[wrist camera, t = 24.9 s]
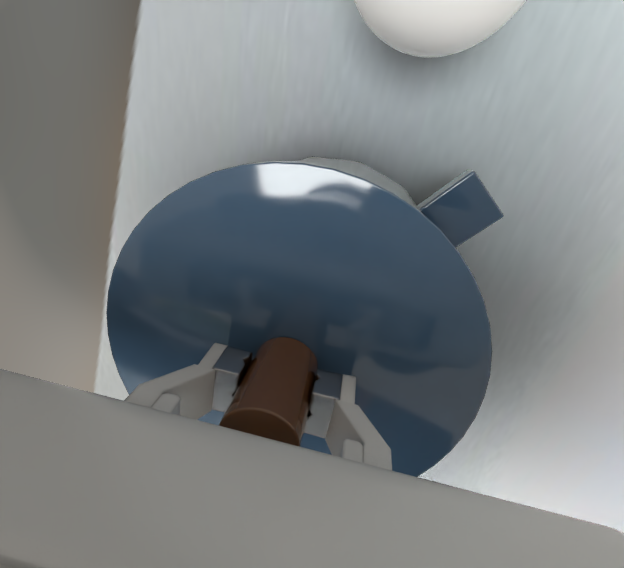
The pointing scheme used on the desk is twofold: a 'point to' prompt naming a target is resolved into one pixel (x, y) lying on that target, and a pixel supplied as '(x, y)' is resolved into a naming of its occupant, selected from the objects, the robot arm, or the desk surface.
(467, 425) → the lid
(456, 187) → the pot
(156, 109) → the desk surface
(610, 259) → the desk surface
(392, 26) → the lightbulb
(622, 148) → the desk surface
